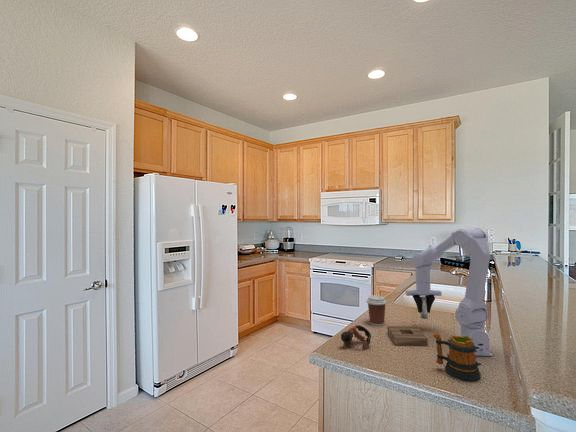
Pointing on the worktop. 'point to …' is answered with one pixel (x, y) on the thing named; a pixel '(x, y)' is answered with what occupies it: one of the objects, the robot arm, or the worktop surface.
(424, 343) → the hole block
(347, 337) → the brown curled shape
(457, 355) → the mug
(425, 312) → the peg
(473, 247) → the robot arm
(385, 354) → the worktop surface
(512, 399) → the worktop surface
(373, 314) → the coffee cup
